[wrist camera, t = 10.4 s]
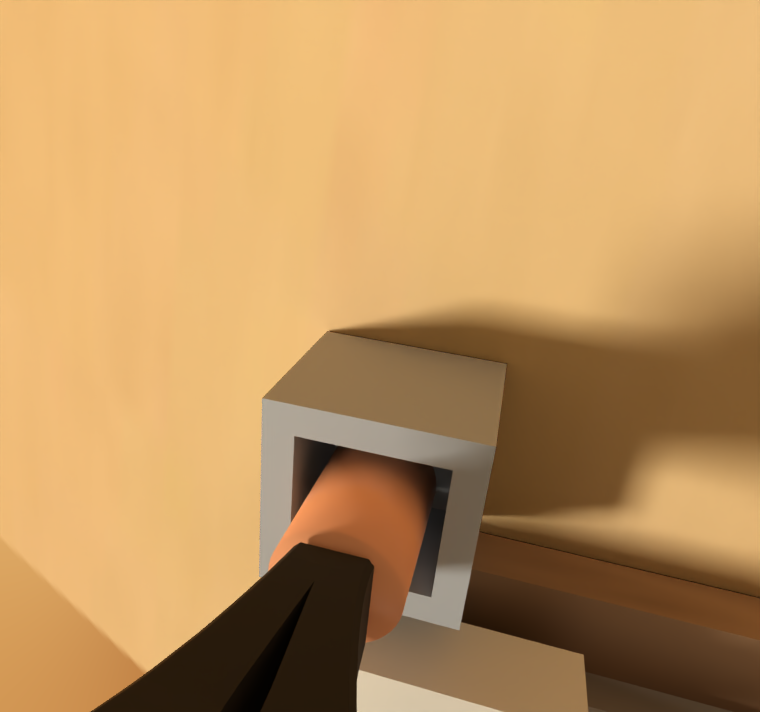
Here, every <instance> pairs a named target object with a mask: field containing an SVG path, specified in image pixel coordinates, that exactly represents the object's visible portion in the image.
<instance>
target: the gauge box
mask: <svg viewBox="0 0 760 712" xmlns="http://www.w3.org/2000/svg"><path fill="white" fill-rule="evenodd" d="M506 368H507V364H505V363H499V362H494V361H488V360H483V359H477V358H472V357H466V356H461V355H455V354H450V353H444V352H439V351H433V350H428V349H422V348H417V347H411V346H406V345H400V344H395V343H389V342H384V341H378V340H373V339H367V338H362V337H356V336H351V335H345V334H340V333H334V332H329V331H327V332H326V333H325V334H324V335H323V336H322V337H321V338H320V339H319V340H318V341H317V342H316V343H315V344H314V345H313V347H312V348H311V349H310V350H309V351H308V352H307V353H306V354H305V355H304V356H303V357H302V358H301V359H300V360H299V361H298V362H297V363H296V364H295V365H294V366H293V367H292V368H291V369H290V370H289V371H288V372H287V373H286V374H285V375H284V376H283V377H282V378H281V379H280V380H279V381H278V382H277V384H276V385H275V386H274V387H273V388H272V389H271V390H270V391H269V392H268V393H267V394H266V395H265V396H264V397H263V398H262V442H261V502H260V561H259V577H263V576H264V575H265V574H266V573H267V572H268V567H269V562H270V558H271V556H272V554H273V552H274V550H275V549H276V547H277V545H278V544H279V542H280V540H281V539H282V537H283V535H284V534H285V532H286V530H287V529H288V527H289V525H290V524H291V522H292V521H293V519H294V517H295V516H296V514H297V512H298V511H299V509H300V507H301V506H302V504H303V502H304V501H305V499H306V497H307V496H308V494H309V493H310V491H311V489H312V488H313V486H314V484H315V483H316V481H317V479H318V478H319V476H320V474H321V473H322V471H323V469H324V468H325V466H326V464H327V463H328V461H329V460H330V458H331V456H332V455H333V453H334V451H335V450H336V448H337V447H338V446H343V447H347V448H352V449H356V450H361V451H365V452H370V453H375V454H379V455H384V456H388V457H393V458H397V459H402V460H407V461H411V462H416V463H420V464H425V465H430V466H433V469H434V472H435V476H436V484H437V485H436V493H435V497H434V501H433V504H432V508H431V512H430V515H429V519H428V523H427V526H426V530H425V534H424V537H423V541H422V545H421V548H420V552H419V555H418V559H417V563H416V566H415V570H414V574H413V577H412V581H411V585H410V588H409V592H408V596H407V599H406V603H405V607H404V610H403V614H402V615H404V616H407V617H411V618H415V619H418V620H422V621H426V622H430V623H433V624H437V625H441V626H445V627H448V628H452V629H456V630H460V625H461V620H462V615H463V610H464V605H465V600H466V595H467V590H468V585H469V580H470V575H471V570H472V565H473V560H474V555H475V550H476V545H477V540H478V535H479V530H480V525H481V520H482V515H483V510H484V505H485V500H486V495H487V490H488V485H489V480H490V475H491V470H492V465H493V460H494V455H495V450H496V444H497V437H498V429H499V422H500V414H501V406H502V399H503V391H504V383H505V376H506Z"/></svg>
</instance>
